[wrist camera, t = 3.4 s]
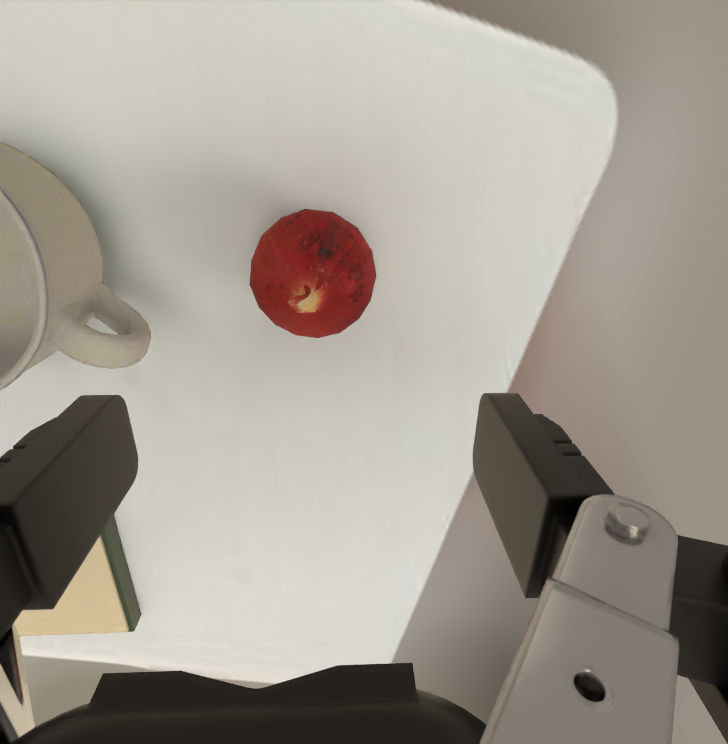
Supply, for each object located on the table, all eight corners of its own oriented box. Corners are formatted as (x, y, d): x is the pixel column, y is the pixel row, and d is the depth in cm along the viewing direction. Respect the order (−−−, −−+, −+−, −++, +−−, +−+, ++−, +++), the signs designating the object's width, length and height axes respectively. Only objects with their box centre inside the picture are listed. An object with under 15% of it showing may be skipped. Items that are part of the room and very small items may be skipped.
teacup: (-123, 259, 24) (-321, 304, 17) (-52, 66, 21) (-259, 20, 14) (127, 400, 28) (55, 484, 21) (220, 257, 25) (172, 299, 18)
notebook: (-60, 621, 36) (-77, 642, 34) (-122, 509, 31) (-145, 527, 29) (141, 615, 36) (132, 634, 35) (110, 503, 32) (98, 521, 30)
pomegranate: (294, 180, 24) (273, 191, 16) (390, 239, 25) (411, 273, 18) (245, 278, 26) (208, 328, 18) (337, 328, 27) (336, 391, 20)
